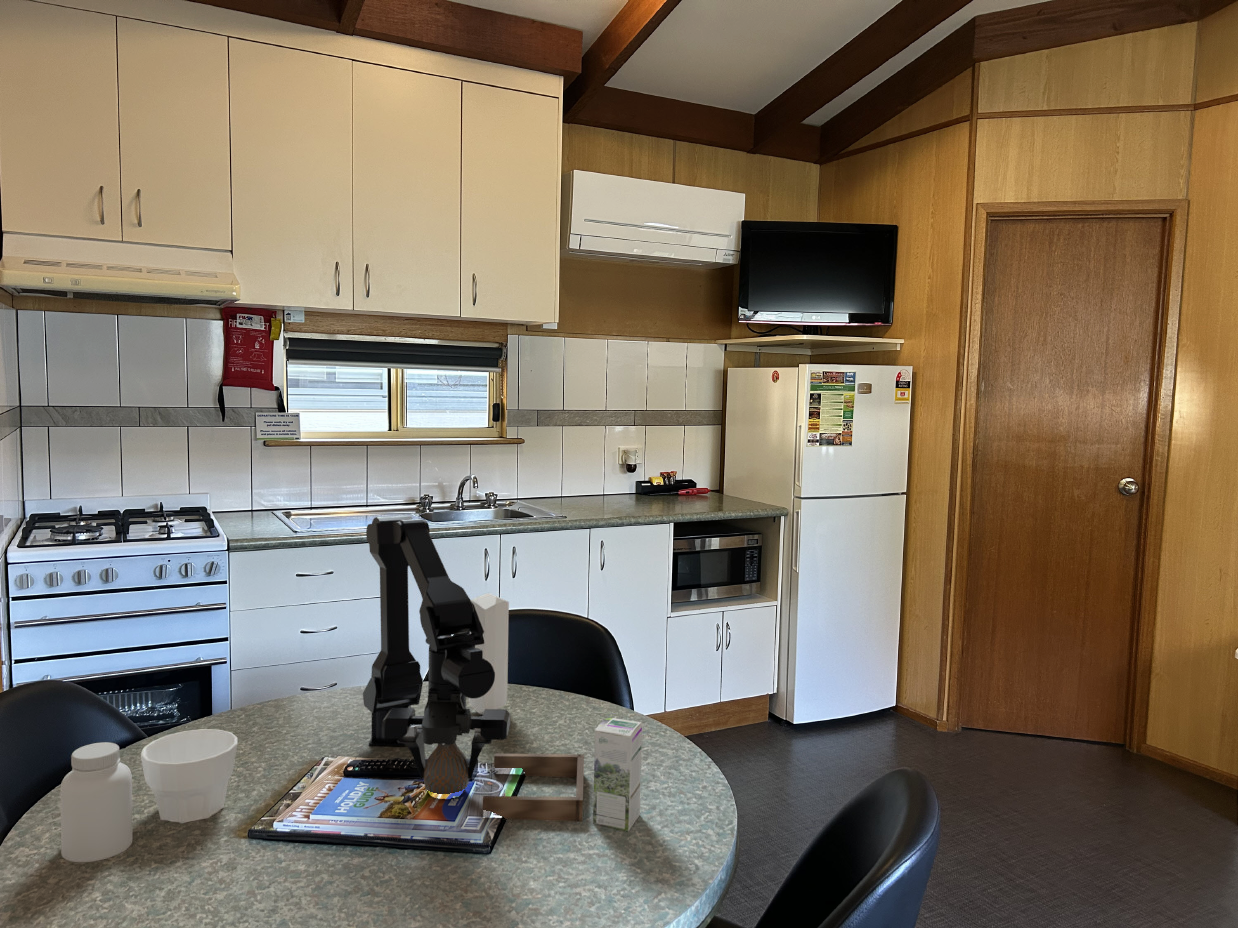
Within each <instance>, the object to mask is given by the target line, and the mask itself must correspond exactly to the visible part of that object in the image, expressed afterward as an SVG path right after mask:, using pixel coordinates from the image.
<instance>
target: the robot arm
mask: <svg viewBox="0 0 1238 928" xmlns="http://www.w3.org/2000/svg"><path fill="white" fill-rule="evenodd" d="M365 530H366V533H365V535H366V536H365V537H366V540H367V543H368V545H369V553H370V555H371V556H372V558H373V559H374V561H375V562H376V564H377V565H378V566H379V595H380V596H379V599H380V600H379V601H380V651H379V653H378V655H377V656H376V659H375V660H374V662H373V663H372V665H371V678H370V679H369V681H368V682H367V684H366V687H365V688H364V690H363V693H362V699H363V705H364V707H365V708H366V709H367V710H368V711H369V712H370V713H371V738H370V739H369V741H368V746H371V747H373V746H375V747H376V746H378V747H383V746H384V747H385V746H387V747H407V748H408V750H409V752H410V753H411V754H410V755H411V756H412V759H413V761H414V763H415V766H416V768H417V771H418V774H419V777H420V779H424V768H425V765H426V753H425V752H426V751H425V745H436V744H437V745H438V744H445V745H451V744H454V743H455V742H456V741H457V738H458V736H463V734H467V735H469V734H470V731H471V730H472V731H473V730H474V732H473V733H474V734H473V737H472V741H471V751H470V757H469V762H468V764H469V780H471V779H472V777H473V774H474V771H475V769H476V768H475V767H476V764H477V762H478V759H479V756H480V754H481V752H482V749H483V748H484V747H485V745H491V744H492V743H493V741H497V740H498V741H503V740H507V738H508V735H509V731H510V726H511V714H510V712H509V711H508V710H507V709H504V708H503V709H502V708H500V709H485V710H484V713H483V715H482V716H481V715H480V716H472V712H471V708H467V698H468V699H469V698H479V697H482V696H483V695H485V694H486V693H487V692H488V691H489V690H490V689H491V687H492V686H493V683H494V680H495V672H494V669H493V667H492V665H491V663H489V662H488V661H487V660H485V659H484V658H483V652H482V650H481V649H479V648H475V645H481V644H484V638H483V633H484V630H483V627H482V625H481V622H480V620H479V617H478V614H477V612H476V609H475V606H474V604H473V603H472V602H471V600H472V599H470V597H469V595H468V594H467V592H466V591H465V588H463V587H462V586H461V585H459V584H457V583H455V582H454V581H452V580H451V578H450V577H449V574H448V572H447V570H446V568H445V565H444V564H443V561H442V559H441V557H440V555H439V552H438V550H437V548H436V545H435V544H434V541H433V538H432V536H431V534H430V526H429V522H428V520H426V519H422V518H416V519H415V518H414V519H413V517H412V516H411V515H410V514H408V515H407V514H406V515H405V514H404V515H394V516H393V515H392V516H391V515H390V516H375V517H374V518H373V519H372V521H371V523H368V524H367V526H366V529H365ZM409 568H410V572H411V573H412V576H413V579H414V580H415V582H416V585H417V588H418V590H419V593H420V595H421V599H422V600H421V604H420V607H419V611H418V612H419V615H420V616H419V619H420V625H421V628H422V630H423V633H424V635H425V637H426V638H425V644H427V645H429V646H428V676H427V677H428V681H427V683H428V684H427V685H428V690H427V692H428V693H427V694H428V695H427V700H426V701H427V702H426V704H425V706H424V712H423V713H424V714H423V715H416V710H415V709H416V708H415V707H412V706H414V705H415V706H417V705H419V704H420V701H421V696H422V689H423V683H424V682H423V681H424V678H423V677H422V674H421V664H420V662H419V660H416V659H415V657H414V655H413V654H412V652H411V651H410V635H409V634H410V627H409V626H410V621H409V618H410V617H409V615H410V614H409ZM468 632H469V633H468ZM470 632H471V634H470ZM467 633H468V634H467Z"/></svg>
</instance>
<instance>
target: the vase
mask: <svg viewBox="0 0 1238 928" xmlns="http://www.w3.org/2000/svg"><path fill="white" fill-rule="evenodd" d="M469 780H470V779H469V762H468V758H467V756H466V755H465V754H464V752H463V751H462V750H461V748H459V746H458V745H457V743H456V742H455V743H454V744H451V745H445V744H437V746H436V747H435V749H434V750H433V751H432V752H431V754H430V755H429V756H428V758H427V759H426V761H425V768H424V778H423V783H424V787H425V790H426V789H427V790H428V791H430V792H433V793H437V794H450V793H455V792H459V791H462V790H463V789H465V788H466V787H467V788H468V785H469ZM467 788H466V789H467ZM427 790H426V791H427Z"/></svg>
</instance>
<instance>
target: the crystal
mask: <svg viewBox="0 0 1238 928" xmlns="http://www.w3.org/2000/svg"><path fill="white" fill-rule="evenodd" d="M470 600H471V602H472V603H473V604H474V606H475V609H476V612H477V614H478V617H479V620H480V622H481V625H482V627H483V630H484V633H483V638H484V644H481V645H475V648H479V649H481V650H482V652H483V658H484V659H485V660H487V661H488V662H489V663H491V665H492V667H493V669H494V672H495V680H494V683H493V686H492V687H491V689H490V690H489V691H488V692H487V693H486V694H485V695H483V696H482V697H479V698H468V704H469V706H470V707H471V708H472V709H474V711H476V712H477V713H478V714H479V715H480V716H481V715H482V716H483V713H484V710H485V709H502V708H503V707H505V706H506V704H507V702H508V678H509V677H508V668H509V664H508V663H509V617H510V615H509V614H510V613H509V610H510V609H509V608H510V607H509V605H510V604H509V603H510V602H509V601H507V600H505V599H503V598H501V597H499V596H497V595H495V594H493V593H490V592H487V593H484V594H482V595H478V596H476V597H475V598H472V599H470ZM469 634H471V632H470V631H469Z"/></svg>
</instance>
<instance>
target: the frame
mask: <svg viewBox="0 0 1238 928" xmlns="http://www.w3.org/2000/svg"><path fill="white" fill-rule="evenodd" d="M584 760H585V754H581V753H580V754H578V753H577V754H573V753H571V754H569V753H568V754H567V753H564V754H563V753H561V754H558V753H494V756H493V768H494V767H495V768H522V769H523V770H524V772H525V777H526V776H527V777H528V776H530V777H533V776H534V777H555V778H557V777H559V778H576V793H575V794H576V796H525V795H524V796H521V795H520V796H519V795H518V796H517V795H515V796H514V795H512V796H511V795H508V796H507V795H506V796H502V795H498V796H497V795H492V796H491V795H483V796H482V811H483V810H486V811H491V812H493V813H496V814H497V815H500V816H503V817H504V818H505V819H504V820H519V821H520V820H525V821H526V820H527V821H528V820H529V821H551V822H552V821H554V822H555V821H556V822H583V821H584V819H583V816H584V815H583V811H584V809H583V808H584V773H585V771H584V770H585V769H584V768H585V767H584V766H585V763H584V762H585V761H584Z"/></svg>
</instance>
